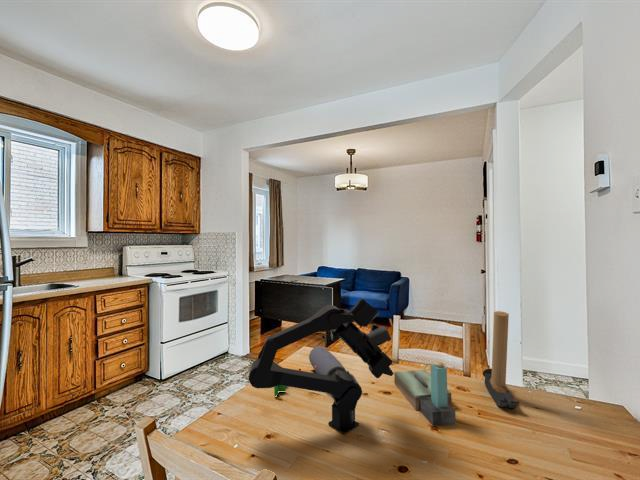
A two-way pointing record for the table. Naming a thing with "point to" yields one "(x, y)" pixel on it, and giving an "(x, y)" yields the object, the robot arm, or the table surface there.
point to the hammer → (499, 363)
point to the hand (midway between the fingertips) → (392, 374)
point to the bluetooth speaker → (324, 361)
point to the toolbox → (424, 397)
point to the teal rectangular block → (439, 384)
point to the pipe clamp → (279, 389)
